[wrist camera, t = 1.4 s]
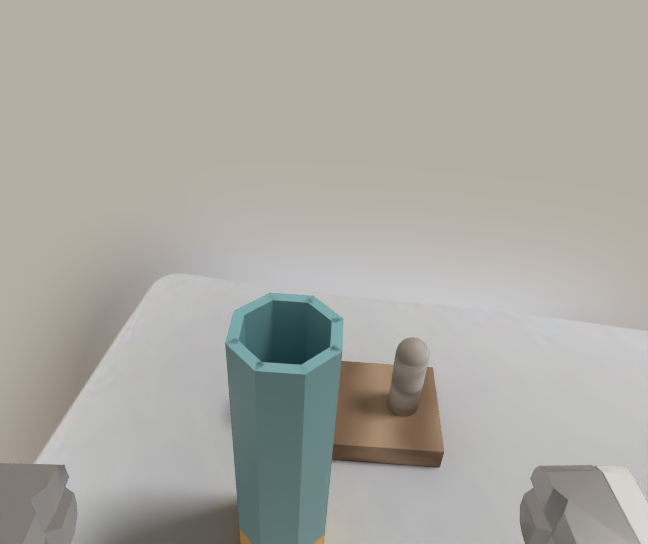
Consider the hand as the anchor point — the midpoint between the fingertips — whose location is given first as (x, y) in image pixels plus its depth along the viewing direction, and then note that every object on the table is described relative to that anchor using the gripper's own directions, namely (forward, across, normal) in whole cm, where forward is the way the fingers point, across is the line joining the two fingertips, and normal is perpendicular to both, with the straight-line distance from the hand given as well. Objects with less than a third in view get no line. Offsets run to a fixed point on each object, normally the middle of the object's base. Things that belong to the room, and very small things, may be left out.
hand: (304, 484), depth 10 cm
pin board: (+28, +5, -30) cm, 41 cm away
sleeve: (+18, 0, -30) cm, 35 cm away
